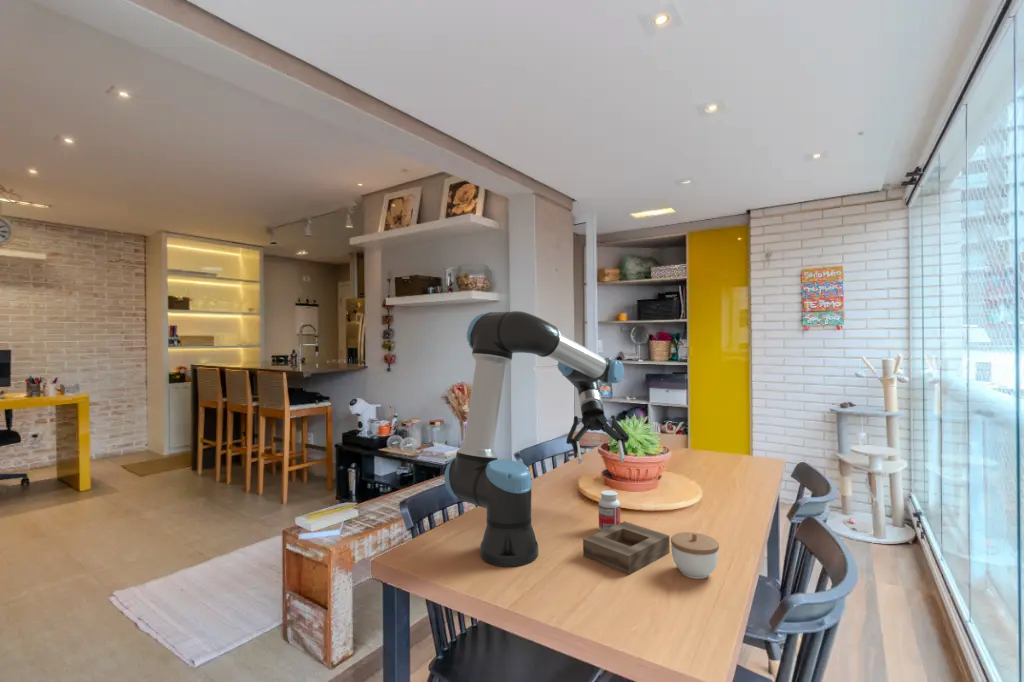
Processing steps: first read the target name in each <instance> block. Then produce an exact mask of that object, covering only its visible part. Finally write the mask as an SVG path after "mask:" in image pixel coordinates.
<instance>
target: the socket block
mask: <svg viewBox="0 0 1024 682" xmlns="http://www.w3.org/2000/svg"><path fill="white" fill-rule="evenodd" d="M670 543H671V538H670V535H669V534H666V533H663V532H660V531H656V530H653V529H650V528H646V527H644V526H642V525H641V526H640V525H637V524H634V523H631V522H629V521H625V520H623V521H622V522H620V523H619V524H617V525H615V526H612V527H610V528H608V529H605V530H603V531H600V530H599V532H596V533H593V534H592V535H589V536H586V537H584V538H582V547H583V548H582V554H583V555H582V556H583V557H584V558H586V559H590V560H591V561H594V562H596V563H599V564H601V565H604V566H606V567H609V568H611V569H613V570H616V571H619V572H621V573H623V574H625V575H628V576H630V575H632V574H634V573H636V572H637V571H639V570H640V569H643V568H644V567H646V566H648V565H650V564H652V563H653V562H656V561H657V560H660V559H661V558H663V557H665V556H666V555H668V554H670V550H671V549H670V546H671V544H670Z"/></svg>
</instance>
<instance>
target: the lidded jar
mask: <svg viewBox="0 0 1024 682" xmlns="http://www.w3.org/2000/svg"><path fill="white" fill-rule="evenodd" d="M670 543H671V544H670V545H671V555H672V559H673V562H674V564H675V566H676V567H677V569H678V570H679V571H680V572H681V574H682V575H683V576H685V577H687V578H690V579H694V580H695V579H696V580H703V579H707V578H708V577H709V575H711V574H712V573H713V572H714V571H715V569H716V568H717V567H716V566H717V564H718V559H719V548H720V543H719V542H718V540H716V538H714V537H712V536H709V535H707V534H703V533H699V532H691V531H690V532H689V531H688V532H687V531H686V532H679V533H674V534H673V535H672V536H671V537H670Z"/></svg>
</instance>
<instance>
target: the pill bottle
mask: <svg viewBox="0 0 1024 682" xmlns="http://www.w3.org/2000/svg"><path fill="white" fill-rule="evenodd" d="M599 499H600V500H598V530H599V532H600V531H603V530H605V529H608V528H610V527H612V526H615V525H617V524H619V523H621V502H620V501H619V499H618V492H617V491H615V490H611V489H610V490H606V489H605V490H602V491H601V492H600V498H599Z"/></svg>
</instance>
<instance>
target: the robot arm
mask: <svg viewBox="0 0 1024 682" xmlns="http://www.w3.org/2000/svg"><path fill="white" fill-rule="evenodd" d="M467 327H468V328H467V332H466V339H467V340H466V341H467V342H468V345H469V347H470V348H471V349H472V351H471V357H472V358H473V359H474V361H475V367H474V373H473V380H472V386H471V392H470V399H469V405H468V412H467V419H466V425H465V431H464V438H463V445H462V446H461V447H459V448H458V449H457V450H456V453H455V455H456V456H455V457H453V458H452V459H451V460H450V462H449V463H448V464H447V465H446V469H445V471H444V484H445V487H446V491H448V493H449V495H451V496H452V497H453V498H455V499H457V500H459V501H461V502H463V503H468V504H471V505H475V506H477V507H480V508H484V509H486V526H485V529H484V534H483V538H482V540H481V543H480V546H479V551H480V552H479V553H480V554H479V555H480V558H481V560H483V561H484V562H485V563H488V564H491V565H494V566H497V567H519V566H524V565H527V564H530V563H532V562H534V561H535V560H536V559H538V556H539V543H538V541H537V539H536V538H537V537H536V534H535V531H534V528H533V525H532V488H533V487H532V486H533V483H532V477H531V476H532V475H531V470H530V469H529V467H528V466H527V465H526V464H525V463H522V462H520V461H516V460H512V459H511V460H508V459H502V458H501V459H498V454H497V453H496V452H495V449H494V447H495V440H496V433H497V427H498V419H499V413H500V405H501V399H502V398H501V397H502V391H503V383H504V378H505V370H506V367H507V365H508V364H510V363H511V362H512V361H513V354H515V353H517V354H518V353H520V354H523V353H524V354H533V355H537V356H539V357H541V358H545V357H546V358H547V357H548V358H551V359H552V360H554V361H556V362H557V368H558V371H559V372H560V373H561V374H562V376H563V377H565V378H566V379H567V380H568V381H569V382H570V383H571V384H572V385H573V386H574V388H576V390H577V394H578V398H579V405H580V412H581V417H578V416H577V415H575V416H573V417H574V418H573V422H572V423H573V424H572V426H571V427H570V430H569V433H568V435H567V437H566V442H565V444H567V445H571V447H572V451H573V454H576V457H577V464H578V465H581V463H582V460H583V458H582V453H581V452H582V451H581V447H580V440H581V439H582V438H583V437H584V435H585V434H586V433H587V432H588V431H592V432H593V431H594V432H595V431H597V432H599V431H602V432H604V433H606V434H607V435H608V436H610V437H611V438H612V439H613V440H615V441H616V442H617V451H618V454H619V458H620V463H622V464H624V463H625V460H626V457H625V452H626V450H627V447H626V443H629V440H630V436H629V435H628V433H627V432H626V431H625V429H624V428H623V427H622V426H621V425H620V424H619V422H618V421H617V419H616V415H611V416H610V417H607V416H606V415H605V410H604V405H603V401H602V396H601V392H600V385H599V383H603V384H609V385H610V384H619V383H620V382H621V381H622V380H623V378H624V375H625V368H624V364H623V363H622V361H620V360H617V359H607V358H605V357H603V356H602V355H600V354H597V353H596V352H595V351H593V350H591V349H589V348H587V347H585V345H582V344H580V343H578V342H576V341H575V340H573V339H572V338H569V337H568V336H566V335H564V334H562V333H561V332H560V330H559V328H558V327H557V326H556V325H553V324H552V323H550V322H549V321H546V320H545V319H542V318H540V317H538V316H536V315H533V314H532V313H528V312H524V311H520V310H519V311H518V310H517V311H516V310H512V311H488V312H486V313H481V314H478V315H477V316H476V317H474V318H473V319H472V320H471V321H470V323H469V325H468V326H467ZM608 423H609V424H608ZM580 424H582V425H583V426H582V428H581V429H580V430H579V431H578V432H577V434H576V435H575V432H576V430H577V428H578V426H579V425H580ZM610 425H611V426H610ZM574 435H575V436H574Z"/></svg>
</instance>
